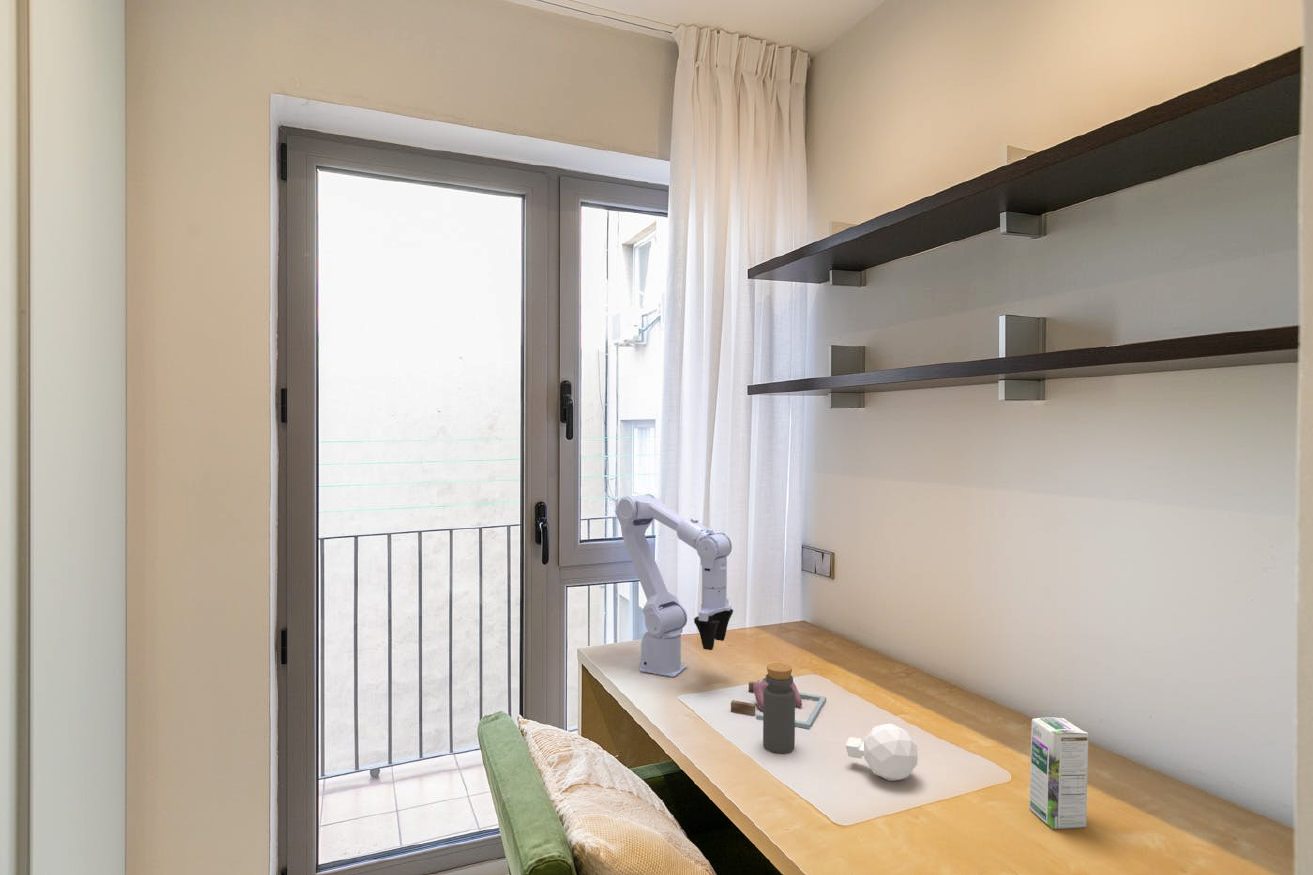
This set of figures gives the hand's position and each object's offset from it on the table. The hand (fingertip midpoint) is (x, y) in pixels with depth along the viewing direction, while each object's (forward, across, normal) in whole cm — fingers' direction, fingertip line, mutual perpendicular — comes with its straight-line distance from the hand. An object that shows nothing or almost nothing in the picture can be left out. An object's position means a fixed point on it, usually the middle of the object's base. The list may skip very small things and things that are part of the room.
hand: (713, 644), depth 161 cm
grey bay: (+9, -6, -20) cm, 22 cm away
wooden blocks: (+9, -6, -11) cm, 16 cm away
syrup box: (+10, -29, -67) cm, 74 cm away
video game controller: (+10, -5, -16) cm, 20 cm away
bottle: (+10, -24, -22) cm, 34 cm away
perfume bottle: (+10, -26, -41) cm, 49 cm away
